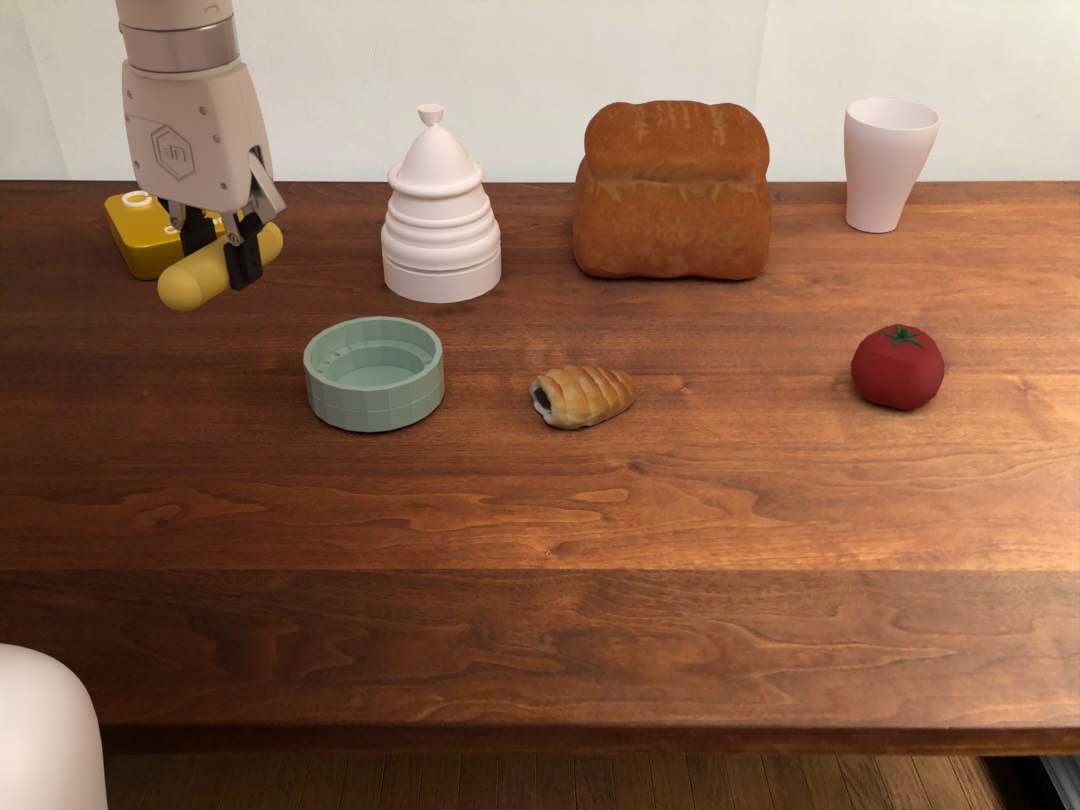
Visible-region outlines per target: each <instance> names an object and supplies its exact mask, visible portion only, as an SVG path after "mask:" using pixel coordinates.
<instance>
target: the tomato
mask: <svg viewBox="0 0 1080 810" xmlns="http://www.w3.org/2000/svg"><path fill="white" fill-rule="evenodd" d="M938 347H939V346H938V345H937V343H936V341H935V340H934V339H933V338H932V337H931V336H930V335H929V334H928V333H926V332H925V331H924V330H922V329H920V328H918V327H916V326H911V325H906V324H902V323H897V322H896V323H895V324H892V325H887V326H885V327H882V328H880V329H878V330H876V331H874V332H872V333H870V334H868V335H867V336H865V338H864V339H862V340H861V341H860V342H859V344H858V346H857V348H856V349H855V352H854V354H853V357H852V359H851V361H850V376H851V379H852V382H853V384H854V386H855V388H856V390H857V391H858V393H859V394H860V395H861V396H862V397H863V398H864V399H866V400H868V401H870V402H872V403H874V404H879V405H882V406H883V405H884V406H888V407H892V408H896V409H901V410H905V411H908V410H909V411H910V410H915V409H919V408H921V407H923V406H925V405H927V404H928V403H930V401H932V400H933V399H934V398H935V397H937V394H938V392H939V390H940V388H941V386H942V383H943V381H944V378H945V369H946V368H945V366H946V364H945V361H944V358H943V355H942V352H941V351H940V350H939V348H938Z"/></svg>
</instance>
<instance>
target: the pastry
mask: <svg viewBox="0 0 1080 810" xmlns="http://www.w3.org/2000/svg"><path fill="white" fill-rule="evenodd" d="M529 395H530V397H531V398H532V402H533V403H532V404H533V407H534V408H535V410H536V411H537V412H538V413H539V414H540V415H542V416H543V420H544V421H545V422H546V424H548V425H550V426H553V427H556V428H560V429H563V430H578V429H579V428H581V427H584V426H588V427H592V426H594V425H597V424H599V423H601V422H602V421H608V420H609V419H610V418H614V417H615V416H618V415H619V414H621V413H622V412H624V411H626V410H627V409H628V408H629V407H630V406H631V404H633V403H634V401H635V399H636V396H637V392H636V386H635V384H634V382H633V380H632V378H631V375H630V374H629V373H627V372H624V371H621V370H619V369H616V368H615V369H614V368H604V367H603V366H597V367H591V366H589V365H588V364H587V365H583V366H580V367H578V366H575V365H573V364H568V365H567V366H565V367H564V368H563V369H562V368H555V367H553V368H550V369H549V370H547V372H546V373H545V374H544V375H542V374H540V375H537V376H536V378H535V380H534V381H533V382H532V383H531V386H530V387H529Z"/></svg>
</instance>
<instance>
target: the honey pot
mask: <svg viewBox="0 0 1080 810" xmlns="http://www.w3.org/2000/svg"><path fill="white" fill-rule="evenodd" d="M417 111H418V115H419V118H420V120H421V122H422V123H423V124H424V125H425V126H427V128H424V129H423V130H422V131H421V132H420V133H419V134H418V135H417V136H416V138H415V139H414V140H413V142H412V144H411V146H410V147H409V149H408V151H407V153H406V155H405V157H404V159H402V160H401V161H398V162H396V163H395V164H393V165H392V166H391V167H390V169H389V170H388V172H387V174H386V178H387V179H386V180H387V183H388V185H389V186H390V187H391V189H392V190H393V191H392V194H391V197H390V198H389V200H388V202H387V211H386V213H385V217H384V218H385V219H384V220H385V221H384V223H383V225H382V227H381V231H380V242H381V252H382V253H381V254H382V267H383V277H384V282H385V284H386V286H387V288H388V289H389V290H391V291H392V292H393V293H394V294H396V295H397V296H400V297H402V298H405V299H406V300H407V299H408V300H411V301H415V302H421V303H428V304H449V303H459V302H462V301H463V302H464V301H467V300H472V299H474V298H477V297H480V296H483V295H484V294H486V293H488V292H489V291H491V290H493V289H494V288H495V287H496V285H497V284H498V283H499V282H500V280H501V276H502V246H501V243H502V242H501V234H502V233H501V230H500V225H499V222H498V221H497V219H496V218H495V215H494V211H493V208H492V207H491V201H490V197H489V195H488V194H487V193H486V191H485V189H484V187H483V184H482V183H483V180H484V177H485V174H484V169H483V167H481V165H480V164H478V162H476V161H474V160H472V159H471V158H470V156H469V155H468V153H467V151H466V150H465V148H464V146H463V145H462V143H461V142H460V141H459V139H458V138H457V137H456V136H455V135H454V134H453V133H452V132H451V131H449V130H448V129H447V128H445V127H443V126H441V125H440V122H441V121H442V119H443V116H444V106H443V105H441V104H438V103H425V104H421V105H419V106H418V107H417Z"/></svg>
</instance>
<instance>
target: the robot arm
mask: <svg viewBox="0 0 1080 810" xmlns="http://www.w3.org/2000/svg"><path fill="white" fill-rule="evenodd" d="M114 2H115V7H116V10H117V16H118V19H119V20H118V22H117V23H118V31H119V32H120V34H121V35H122V38H123V43H124V48H125V52H126V56H127V58H126V59H124V60H123V61H122V63H121V65H122V66H121V97H122V110H123V117H124V125H125V132H126V139H127V143H128V149H129V155H130V160H131V165H132V170H133V173H134V177H135V179H136V183H137V185H138V187H139V188H140V189H141V190H144V191H145V192H147V193H148V194H150V195H153V196H155V197H157V200H158V202H159V203H160V204H161V205H162V206H163V208H164V209H165V210H166V211H167V212H168V214H169V216H170V223H171V225H172V227H173V228H174V229H175V230H178V231H180V233H179V235H180V240H181V244H182V249H183V254H184V258H186V257H187V256H189V255H191V254H193V253H194V252H196V251H198V250H199V249H201V248H203V247H205V246H206V245H208V244H210V243H212V242H213V241H215V240H217V236H216V231H215V225H214V223H213V218H210V217H207V218H205V216H206V210H207V211H211V212H215V213H220V215H221V218H222V222H223V225H224V228H225V231H226V235H227V238H228V240H229V242H227V243H226V244H224V245H223V246H224V247H223V249H224V255H225V260H226V265H227V271H228V274H229V281H230V288H231V289H232V290H233V291H236V292H241V291H242V290H244V289H246V288H247V287H248V286H250V285H252V284H253V283H255V282H256V281H258V280H260V279H262V277H263V275H264V266H262V261H261V255H260V249H259V243H258V237H257V234H259V233H260V232H262V231H263V228H264V227H265V225H266V224H267V223H269V222H272V221H274V220H277V219H278V218H280V217H281V216H283V215H284V214H286V213H287V212H288V206H287V204H286V202H285V200H284V199H283V197H282V195H281V193H280V192H279V190H278V188H277V186H276V185H275V182H274V169H273V161H272V155H271V149H270V148H271V147H270V144H269V142H270V141H269V139H268V133H267V129H266V124H265V121H264V116H263V113H262V109H261V105H260V102H259V98H258V95H257V92H256V88H255V86H254V82H253V79H252V76H251V73H250V71H249V68H248V66H247V63H245V62H243V61H242V56H241V52H240V43H239V39H238V31H237V25H236V20H235V13H234V7H233V0H114ZM240 209H242V212H243V215H244V218H243V219H242V220H241V222H239V218H238V215H237V212H238V211H239V210H240ZM0 810H109V806H108V799H107V791H106V777H105V766H104V754H103V745H102V738H101V732H100V726H99V721H98V717H97V714H96V711H95V708H94V705H93V702H92V698H91V696H90V694H89V692H88V689H87V688H86V686H85V685H84V684H83V682H82V681H81V679H80V678H79V677H78V676H77V675H76V674H75V673H74V672H73V671H72V670H71V669H70V668H69V667H67V666H66V665H65V664H63V663H62V662H60V661H59V660H57V659H56V658H54V657H52V656H50V655H48V654H45V653H44V652H40V651H37V650H35V649H31V648H28V647H24V646H20V645H15V644H7V643H1V642H0Z"/></svg>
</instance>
